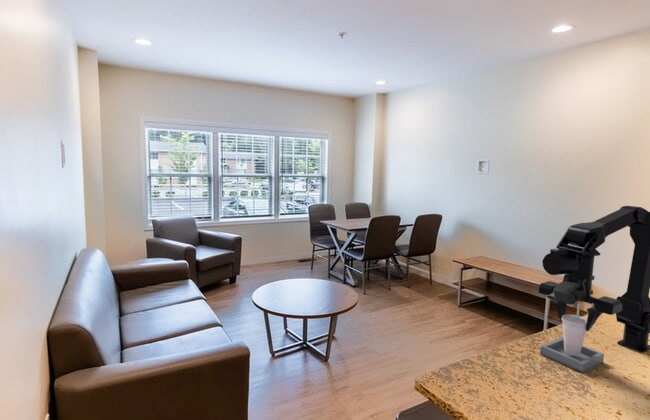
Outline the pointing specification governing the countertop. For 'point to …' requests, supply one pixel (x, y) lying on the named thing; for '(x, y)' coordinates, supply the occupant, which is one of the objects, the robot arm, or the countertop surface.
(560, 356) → the tray
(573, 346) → the smoothie
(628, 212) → the robot arm
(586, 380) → the countertop surface
